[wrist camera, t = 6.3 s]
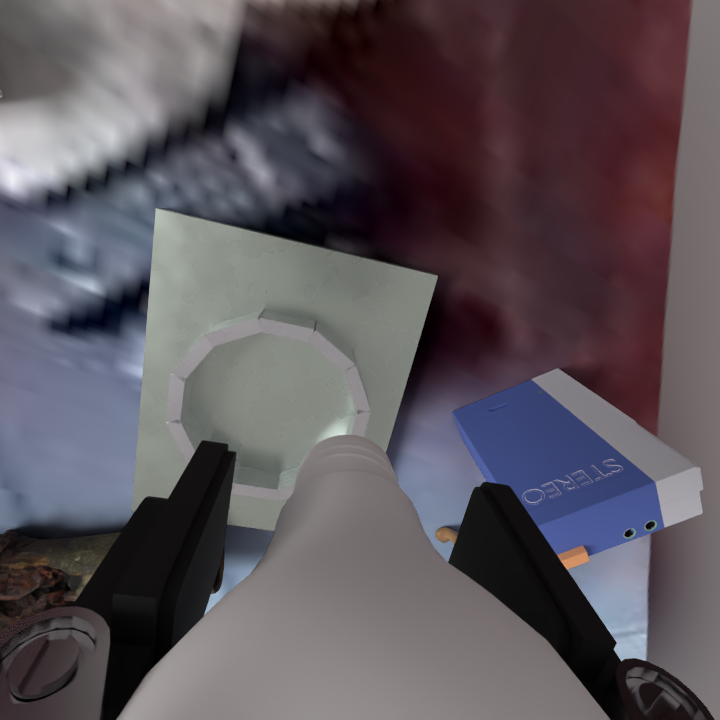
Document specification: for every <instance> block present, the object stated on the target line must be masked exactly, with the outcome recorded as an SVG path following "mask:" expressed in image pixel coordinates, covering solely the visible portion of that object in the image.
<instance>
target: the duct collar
mask: <svg viewBox="0 0 720 720" xmlns="http://www.w3.org/2000/svg"><path fill="white" fill-rule="evenodd" d="M437 278H438V275H436V274H434V273H431V272H427V271H423V270H418V269H414V268H410V267H406V266H402V265H398V264H394V263H389V262H385V261H381V260H377V259H373V258H369V257H364V256H360V255H356V254H352V253H348V252H344V251H339V250H335V249H331V248H327V247H323V246H319V245H315V244H310V243H306V242H302V241H298V240H294V239H290V238H285V237H281V236H277V235H273V234H269V233H265V232H260V231H256V230H252V229H248V228H244V227H240V226H236V225H231V224H227V223H223V222H219V221H215V220H211V219H206V218H202V217H198V216H194V215H190V214H186V213H181V212H177V211H173V210H169V209H165V208H156V214H155V227H154V239H153V252H152V264H151V277H150V290H149V302H148V315H147V327H146V340H145V352H144V365H143V377H142V390H141V403H140V415H139V428H138V440H137V453H136V465H135V478H134V490H133V503H132V511H134V512H135V511H136V509H137V508H138V506H139V505H140V503H141V502H142V501H143V500H144V498H146V497H147V496H152V497H160V498H169V496H170V494H171V493H172V491H173V489H174V487H175V486H176V484H177V482H178V480H179V479H180V477H181V475H182V473H183V472H184V470H185V468H186V467H187V465H188V463H189V461H190V460H191V458H192V456H193V454H194V453H195V451H196V449H197V448H198V446H199V444H200V442H201V441H202V440H206V441H213V442H220V443H226V444H228V451H235V452H236V462H235V469H234V476H233V484H232V491H231V498H230V505H229V512H228V519H227V525H235V526H242V527H249V528H256V529H263V530H271V531H274V529H275V526H276V522H277V519H278V517H279V514H280V511H281V509H282V508H283V506H284V504H285V503H286V501H287V500H288V498H289V497H290V496H291V495H292V494H293V489H294V486H295V483H296V478H297V475H298V472H299V469H300V466H301V463H302V460H303V459H304V457H305V455H306V454H307V452H308V451H309V450H310V449H311V448H312V447H313V446H315V445H316V444H318V443H319V442H321V441H323V440H325V439H327V438H329V437H333V436H337V435H356V436H360V437H364V438H367V439H369V440H371V441H373V442H374V443H376V444H377V445H378V446H379V447H381V448H382V449H383V451H384V452H385V453H386V451H387V447H388V444H389V441H390V437H391V434H392V430H393V427H394V424H395V420H396V417H397V413H398V410H399V407H400V403H401V400H402V397H403V393H404V390H405V386H406V383H407V380H408V376H409V373H410V370H411V366H412V363H413V359H414V356H415V353H416V349H417V346H418V342H419V339H420V336H421V332H422V329H423V326H424V322H425V319H426V315H427V312H428V309H429V305H430V302H431V299H432V295H433V292H434V288H435V285H436V282H437Z"/></svg>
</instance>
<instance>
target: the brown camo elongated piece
mask: <svg viewBox="0 0 720 720" xmlns="http://www.w3.org/2000/svg"><path fill="white" fill-rule="evenodd" d="M120 533H121V532H118V533H110V534H101V535H92V536H83V537H72V538H61V539H47V540H39V539H36V538H33V537H28V536H26V535H23V534H19V533H17V532H14V531H10V530H7V531H6V532H5V533H4V534H1V535H0V634H1V633H3V632H4V631H6V630H7V629H9V628H10V627H11V626H13V625H14V624H16V623H17V622H19V621H21V620H23V619H25V618H27V617H30V616H32V615H34V614H36V613H38V612H42V611H46V610H49V609H53V608H57V607H72V605H73V604H74V602H75V601H76V599H77V598H78V596H79V595H80V593H81V592H82V590H83V589H84V587H85V586H86V584H87V583H88V581H89V580H90V578H91V577H92V575H93V574H94V572H95V571H96V569H97V568H98V566H99V565H100V563H101V562H102V560H103V559H104V557H105V556H106V554H107V553H108V551H109V550H110V548H111V547H112V545H113V544H114V542H115V541H116V539H117V538H118V536H119V535H120ZM223 570H224V548H223V554H222V558H221V562H220V566H219V569H218V572H217V575H216V579H215V582H214V585H213V588H212V591H211V594H214V593H216V592H217V591H219V589H220V587H221V584H222V579H223Z"/></svg>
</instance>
